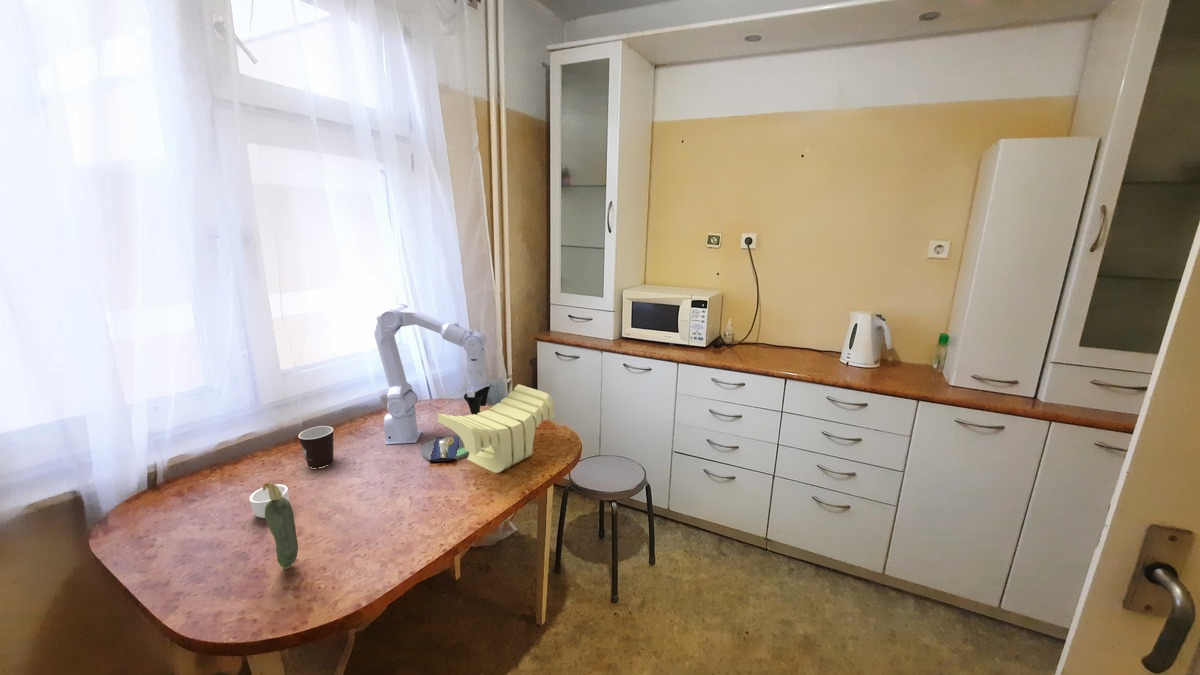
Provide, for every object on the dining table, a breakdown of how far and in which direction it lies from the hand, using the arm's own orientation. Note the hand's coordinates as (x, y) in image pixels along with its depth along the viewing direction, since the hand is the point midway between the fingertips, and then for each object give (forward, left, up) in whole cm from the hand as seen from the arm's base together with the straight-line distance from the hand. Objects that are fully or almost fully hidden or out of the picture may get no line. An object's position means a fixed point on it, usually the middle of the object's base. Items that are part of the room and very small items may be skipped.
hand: (479, 410), depth 148 cm
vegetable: (-33, -54, -10) cm, 64 cm away
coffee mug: (-45, -8, -10) cm, 47 cm away
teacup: (-47, -32, -10) cm, 58 cm away
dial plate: (-9, -6, -10) cm, 15 cm away
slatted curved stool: (+7, -15, -10) cm, 19 cm away
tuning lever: (-9, -10, -8) cm, 16 cm away
